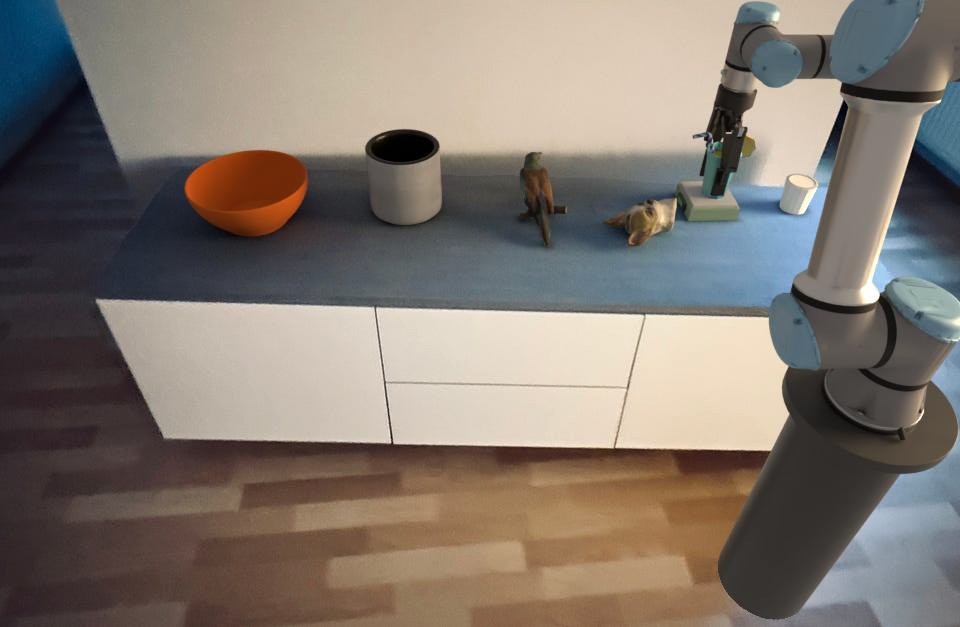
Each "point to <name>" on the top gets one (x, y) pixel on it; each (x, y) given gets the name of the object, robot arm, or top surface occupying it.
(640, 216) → the ceramic sculpture
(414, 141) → the planter
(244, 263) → the top surface
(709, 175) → the cup
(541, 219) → the bird figurine
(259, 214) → the bowl
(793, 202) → the shot glass
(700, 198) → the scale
